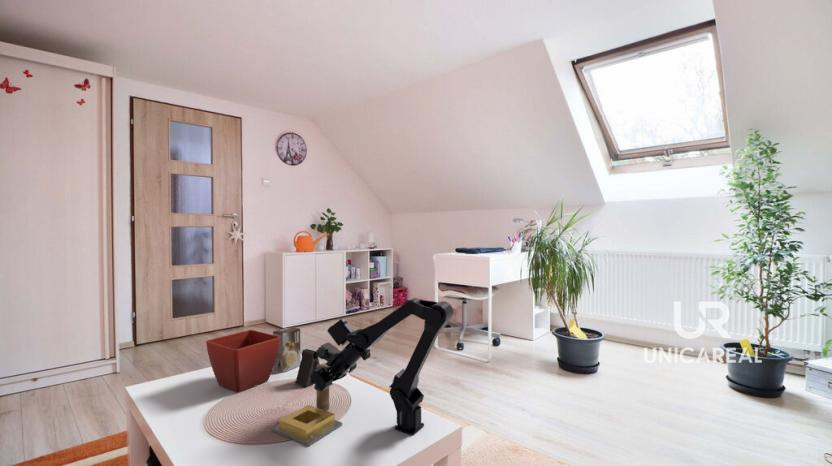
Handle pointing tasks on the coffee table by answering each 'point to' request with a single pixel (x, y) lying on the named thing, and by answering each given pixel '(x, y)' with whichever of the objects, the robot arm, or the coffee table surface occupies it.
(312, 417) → the socket
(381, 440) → the coffee table surface
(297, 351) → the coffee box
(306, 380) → the phone stand
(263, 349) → the plant pot
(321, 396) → the pin
